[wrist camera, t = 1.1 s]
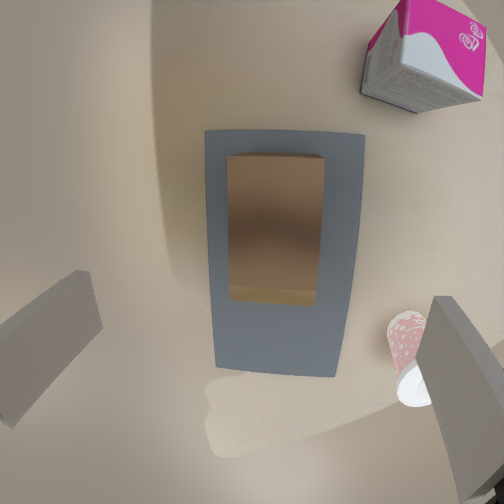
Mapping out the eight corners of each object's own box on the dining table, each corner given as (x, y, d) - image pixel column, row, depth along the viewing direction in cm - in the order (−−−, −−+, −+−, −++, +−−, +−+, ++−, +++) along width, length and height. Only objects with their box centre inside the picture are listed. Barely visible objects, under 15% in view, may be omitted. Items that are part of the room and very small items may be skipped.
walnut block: (249, 152, 26) (227, 156, 19) (318, 154, 25) (324, 158, 18) (249, 259, 29) (230, 300, 22) (312, 263, 29) (314, 306, 21)
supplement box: (418, 115, 23) (483, 104, 12) (358, 94, 23) (394, 63, 12) (427, 61, 20) (488, 26, 10) (368, 39, 21) (403, -16, 10)
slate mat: (206, 131, 26) (204, 131, 26) (363, 135, 24) (364, 135, 24) (216, 364, 35) (215, 367, 35) (334, 374, 33) (334, 377, 33)
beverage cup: (441, 318, 29) (491, 406, 16) (407, 357, 31) (438, 452, 18) (403, 295, 29) (450, 390, 16) (369, 338, 31) (391, 441, 18)
